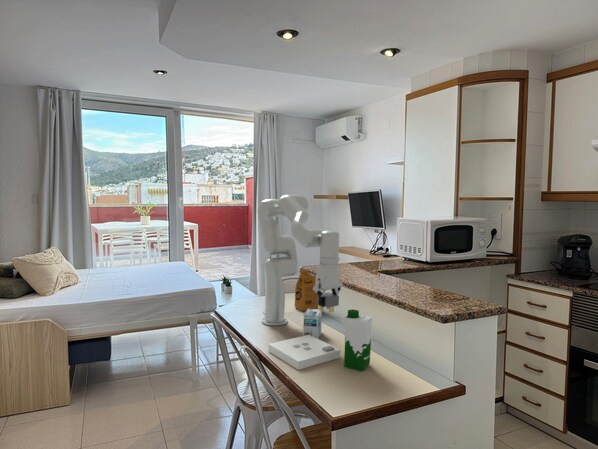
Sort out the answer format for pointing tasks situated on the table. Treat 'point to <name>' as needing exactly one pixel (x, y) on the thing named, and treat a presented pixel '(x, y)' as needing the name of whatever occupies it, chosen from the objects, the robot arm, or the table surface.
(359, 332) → the milk carton
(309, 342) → the socket
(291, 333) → the table surface
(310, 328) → the light bulb box
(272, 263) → the robot arm
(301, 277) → the coffee package
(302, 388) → the table surface
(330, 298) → the plug
